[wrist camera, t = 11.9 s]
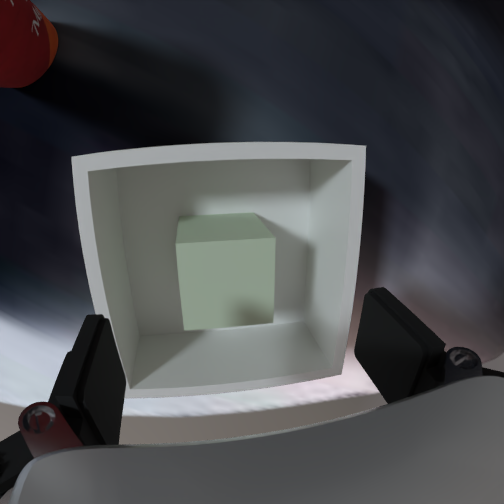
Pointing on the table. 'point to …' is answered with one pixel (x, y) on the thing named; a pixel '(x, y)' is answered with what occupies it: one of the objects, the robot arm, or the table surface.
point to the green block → (225, 270)
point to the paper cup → (24, 43)
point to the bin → (222, 202)
